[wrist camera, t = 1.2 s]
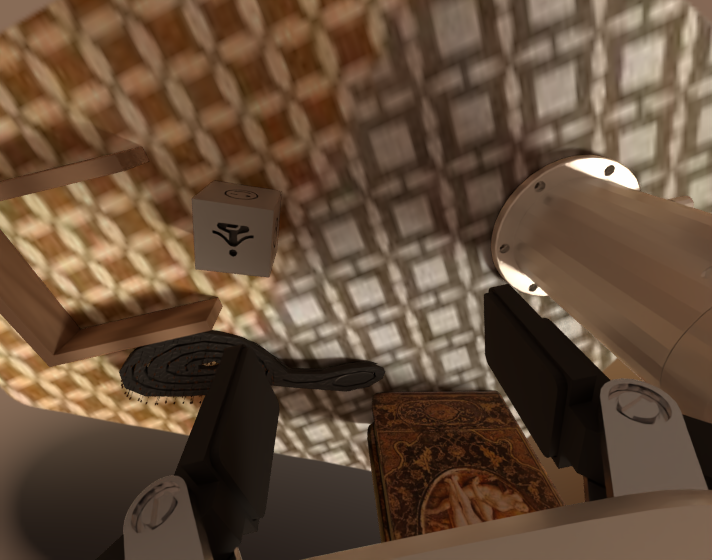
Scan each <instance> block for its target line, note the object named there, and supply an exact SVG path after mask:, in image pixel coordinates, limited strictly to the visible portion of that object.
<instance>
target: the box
mask: <svg viewBox="0 0 712 560" xmlns="http://www.w3.org/2000/svg"><path fill="white" fill-rule="evenodd" d="M148 161H149V159H148V157H147V155H146V153H145V151H144V149H143V147H138V148H134V149H130V150H126V151H122V152H118V153H114V154H109V155H105V156H101V157H97V158H93V159H89V160H85V161H81V162H77V163H73V164H69V165H65V166H60V167H56V168H52V169H48V170H44V171H40V172H36V173H32V174H28V175H24V176H20V177H16V178H11V179H7V180H3V181H0V201H3V200H7V199H11V198H15V197H19V196H23V195H27V194H31V193H36V192H40V191H44V190H48V189H52V188H56V187H60V186H64V185H68V184H73V183H77V182H81V181H85V180H89V179H93V178H97V177H101V176H105V175H110V174H114V173H118V172H122V171H125V170H128V169H130V168H133V167H135V166H138V165H141V164H143V163H146V162H148ZM222 307H223V306H222V304H221V302H220V300H219V298H214V299H209V300H205V301H201V302H196V303H192V304H188V305H183V306H179V307H175V308H170V309H166V310H161V311H157V312H153V313H148V314H144V315H140V316H135V317H131V318H127V319H122V320H118V321H114V322H109V323H105V324H101V325H96V326H92V327H88V328H83V329H80V328H79V327H78V326H77V324H76V323H75V322H74V321H73V319H72V318H71V317H70V316H69V314H68V313H67V312H66V311H65V309H64V308H63V307H62V306H61V304H60V303H59V302H58V301H57V299H56V298H55V297H54V296H53V294H52V293H51V292H50V291H49V289H48V288H47V287H46V286H45V285H44V283H43V282H42V281H41V280H40V278H39V277H38V276H37V275H36V273H35V272H34V271H33V270H32V268H31V267H30V266H29V265H28V263H27V262H26V261H25V260H24V258H23V257H22V256H21V255H20V253H19V252H18V251H17V250H16V248H15V247H14V246H13V245H12V243H11V242H10V241H9V240H8V238H7V237H6V236H5V235H4V233H3V232H2V231H1V230H0V314H1V315H2V316H3V317H4V318H5V319H6V320H7V321H8V323H9V324H10V325H11V326H12V327H13V328H14V329H15V330H16V331H17V332H18V333H19V334H20V335H21V337H22V338H23V339H24V340H25V341H26V342H27V343H28V344H29V345H30V346H31V347H32V348H33V349H34V351H35V352H36V353H37V354H38V355H39V356H40V357H41V358H42V359H43V360H44V361H45V362H46V363H47V365H48V366H49V367H52V366H56V365H61V364H65V363H69V362H74V361H78V360H83V359H87V358H91V357H96V356H100V355H105V354H109V353H113V352H118V351H122V350H127V349H131V348H135V347H140V346H144V345H149V344H153V343H157V342H162V341H166V340H171V339H175V338H179V337H184V336H188V335H193V334H197V333H201V332H206V331H210V330H212V328H213V326H214V324H215V322H216V320H217V317H218V315H219V313H220V311H221V309H222Z"/></svg>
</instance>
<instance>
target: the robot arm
mask: <svg viewBox="0 0 712 560" xmlns="http://www.w3.org/2000/svg"><path fill="white" fill-rule="evenodd" d="M693 207H694V202H693V200H692V198H690V197H689V196H681V197H676V198H672V199H668V200H666V199H663V198H660V197H657V196H653V195H650V194H647V193H644V192H641V188H640V186H639V184H638V181H637V179H636V177H635V176H634V174H633V173H632V172H631V171H630V170H629V168H627V167H626V166H624V165H623V164H621V163H620V162H618V161H615V160H612V159H609V158H606V157H601V156H595V155H576V156H572V157H568V158H564V159H560V160H558V161H556V162H553V163H551V164H549V165H547V166H545V167H543V168H542V169H540V170H539V171H537V172H535V173H534V174H532V175H531V176H530V177H529V178H528V179H526V180H525V181H524V182H523V183H522V184H521V185H519V187H518V188H517V189H516V190H515V191H514V192H513V193H512V195H511V196H510V197H509V198H508V200H507V201H506V203H505V205H504V206H503V208H502V209H501V211H500V213H499V215H498V218H497V220H496V222H495V225H494V229H493V233H492V239H491V252H492V258H493V262H494V264H495V267H496V269H497V271H498V272H499V273H500V275H501V276H502V277H503V279H504V280H506V281H507V282H508V283H509V284H510V285H511V286H512V287H514V288H515V289H517V290H519V291H520V292H523V293H526V294H529V295H537V296H549V297H551V298H552V299H553V300H554V301H555V302H556V303H557V304H558V305H559V306H561V307H562V308H563V309H564V310H565V311H566V312H567V313H568V314H570V315H571V316H572V317H573V318H574V319H575V320H576V321H577V322H578V323H580V324H581V325H582V326H583V327H584V328H585V329H586V330H587V331H588V332H590V333H591V334H592V335H593V336H594V337H595V338H596V339H597V340H598V341H600V342H601V343H602V344H603V345H604V346H605V347H606V348H607V349H608V350H610V351H611V352H612V353H613V354H614V355H615V356H616V357H617V358H618V359H620V360H621V361H622V362H623V363H624V364H625V365H626V366H627V367H628V368H630V369H631V370H632V371H633V372H634V373H635V374H636V375H637V376H639V377H640V378H641V379H642V380H643V381H644V382H642V381H638V380H634V379H615V380H610V379H609V378H608V377H607V376H605V374H604V373H603V372H602V371H601V370H600V369H599V368H598V367H597V366H596V365H595V364H594V363H593V362H592V361H591V360H590V359H589V358H588V357H587V356H586V355H585V354H584V353H583V352H582V351H581V350H580V349H579V348H578V347H577V346H576V345H575V344H574V343H573V342H572V341H571V340H570V339H569V338H568V337H567V336H566V335H565V334H564V333H563V332H562V331H561V330H560V329H559V328H558V327H557V326H556V325H555V324H554V323H553V322H552V321H550V320H549V319H547V318H541V317H540V316H539V315H538V314H537V312H536V311H535V310H534V309H533V308H532V307H531V306H530V305H529V304H528V303H527V302H526V301H525V300H524V299H523V298H522V297H521V296H520V295H519V294H518V293H517V292H516V291H515V290H514V289H513V288H512V287H511V286H510V285H509V284H505V285H501V286H496V287H492V288H490V289H489V293H485V294H484V324H485V356H486V360H487V363H488V365H489V366H490V368H491V370H492V371H493V373H494V375H495V376H496V378H497V380H498V381H499V383H500V385H501V386H502V388H503V389H504V391H505V393H506V394H507V396H508V398H509V399H510V401H511V403H512V404H513V406H514V408H515V409H516V411H517V412H518V414H519V416H520V417H521V419H522V421H523V422H524V424H525V426H526V427H527V429H528V431H529V432H530V434H531V435H532V437H533V439H534V440H535V442H536V443H537V445H538V447H539V449H540V450H541V452H542V453H543V455H544V456H545V457H547V458H548V457H551V458H552V459H553V461H554V462H555V464H556V466H557V467H558V468H559V469H560V468H564V467H569V466H573V468H574V469H575V471H576V472H577V473H579V474H581V475H583V479H584V493H585V502H584V503H578V504H573V505H567V506H562V507H557V508H552V509H547V510H542V511H537V512H532V513H527V514H522V515H517V516H512V517H507V518H502V519H497V520H492V521H487V522H482V523H477V524H472V525H467V526H462V527H457V528H452V529H447V530H443V531H438V532H433V533H428V534H423V535H418V536H413V537H408V538H404V539H399V540H394V541H389V542H384V543H380V544H375V545H370V546H365V547H360V548H355V549H350V550H345V551H341V552H336V553H331V554H327V555H322V556H318V557H312V558H308V559H303V560H712V214H711V213H708V212H705V211H702V210H698V209H695V208H693ZM278 416H279V403H278V400H277V398H276V396H275V394H274V392H273V389H272V387H271V385H270V383H269V381H268V379H267V377H266V375H265V373H264V371H263V369H262V367H261V365H260V363H259V361H258V359H257V357H256V355H255V353H254V351H253V349H252V348H251V347H247V346H246V345H245V344H241V345H236V346H232V347H227V348H226V349H225V351H224V353H223V356H222V358H221V361H220V364H219V366H218V369H217V371H216V374H215V377H214V379H213V382H212V384H211V387H210V390H209V392H208V394H207V395H206V396H205V398H204V400H203V402H202V405H201V407H200V410H199V412H198V415H197V417H196V420H195V423H194V425H193V428H192V430H191V433H190V435H189V438H188V441H187V444H186V446H185V449H184V451H183V454H182V456H181V459H180V461H179V464H178V466H177V469H176V471H175V474H174V476H167V477H164V478H161V479H159V480H157V481H155V482H153V483H152V484H151V485H150V486H148V487H147V488H146V489H144V490H143V491H142V492H141V494H140V495H139V496H138V497H137V498H136V499H135V501H134V502H133V504H132V505H131V507H130V508H129V510H128V513H127V515H126V517H125V521H124V528H123V530H124V534H123V535H122V536H121V537H120V538H119V539H118V540H116V541H115V542H114V543H113V544H112V545H111V546H110V547H109V548H108V549H107V550H106V551H105V552H104V553H102V554H101V555H100V556H99V557H98V558H97V559H96V560H242V558H241V555H240V552H239V550H238V545H239V544H240V543H241V540H242V535H244V534H249V533H254V532H257V531H258V524H259V518H263V516H264V514H265V510H266V503H267V496H268V488H269V481H270V474H271V467H272V460H273V453H274V445H275V438H276V431H277V423H278Z"/></svg>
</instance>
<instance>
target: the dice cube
mask: <svg viewBox="0 0 712 560" xmlns="http://www.w3.org/2000/svg"><path fill="white" fill-rule="evenodd" d="M281 194H282V191H278V190H272V189H265V188H259V187H252V186H246V185H240V184H233V183H227V182H220V181H213V182H212V183H210V184H209V185H208V186H207V187H205V188H204V189H203V190H202V191H201V192H199V193H198V194H197V195H196V196H194V197H193V198H192V211H193V230H194V250H195V269H199V270H207V271H216V272H225V273H234V274H243V275H251V276H260V277H270V273H271V270H272V266H273V263H274V259H275V256H276V252H277V246H278V233H279V220H280V207H281Z"/></svg>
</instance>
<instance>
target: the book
mask: <svg viewBox="0 0 712 560" xmlns="http://www.w3.org/2000/svg"><path fill="white" fill-rule="evenodd" d="M372 410H373V417H374V422H373V423H372V424H370V425H369V427H368V432H367V435H368V437H367V440H368V448H369V456H370V463H371V471H372V478H373V485H374V493H375V499H376V508H377V515H378V522H379V530H380V536H381V543H384V542H389V541H394V540H399V539H404V538H408V537H413V536H418V535H423V534H428V533H433V532H438V531H443V530H447V529H452V528H457V527H462V526H467V525H472V524H477V523H482V522H487V521H492V520H497V519H502V518H507V517H512V516H517V515H522V514H527V513H532V512H537V511H542V510H547V509H552V508H557V507H562V506H566V505H565V503H564V501H563V500H562V498H561V496H560V495H559V493H558V491H557V490H556V488H555V486H554V484H553V483H552V481H551V479H550V478H549V476H548V474H547V472H546V471H545V469H544V467H543V466H542V464H541V462H540V461H539V459H538V457H537V456H536V454H535V452H534V450H533V449H532V447H531V445H530V444H529V442H528V440H527V439H526V437H525V435H524V433H523V432H522V430H521V428H520V427H519V425H518V423H517V422H516V420H515V418H514V416H513V415H512V413H511V411H510V410H509V408H508V406H507V405H506V403H505V401H504V399H503V398H502V396H501V394H500V393H499V392H497V391H478V392H390V393H377V394H375V395H374V396H373V400H372Z"/></svg>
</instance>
